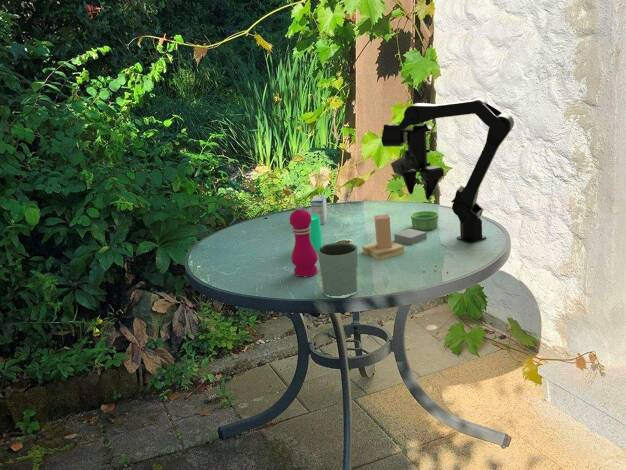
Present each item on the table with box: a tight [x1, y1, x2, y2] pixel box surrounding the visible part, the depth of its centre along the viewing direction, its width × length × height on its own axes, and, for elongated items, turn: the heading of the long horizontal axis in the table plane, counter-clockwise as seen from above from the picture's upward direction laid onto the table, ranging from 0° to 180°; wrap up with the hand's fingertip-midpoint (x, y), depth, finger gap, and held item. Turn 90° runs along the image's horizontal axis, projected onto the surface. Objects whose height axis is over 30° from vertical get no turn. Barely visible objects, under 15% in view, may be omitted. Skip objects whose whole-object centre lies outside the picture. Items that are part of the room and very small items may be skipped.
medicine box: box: [310, 194, 328, 225], centre depth 238 cm, size 8×4×9 cm, turn 172°
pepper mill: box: [289, 203, 319, 277], centre depth 187 cm, size 7×7×20 cm
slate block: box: [393, 228, 428, 245], centre depth 210 cm, size 7×7×2 cm
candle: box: [308, 211, 323, 253], centre depth 208 cm, size 6×6×12 cm
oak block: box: [361, 240, 406, 260], centre depth 201 cm, size 9×9×2 cm
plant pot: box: [317, 242, 358, 296], centre depth 172 cm, size 10×10×12 cm
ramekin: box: [410, 210, 439, 231], centre depth 221 cm, size 9×9×4 cm
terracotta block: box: [374, 213, 392, 249], centre depth 199 cm, size 4×4×9 cm
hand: (419, 196), depth 208 cm, fingers open, 9 cm apart
